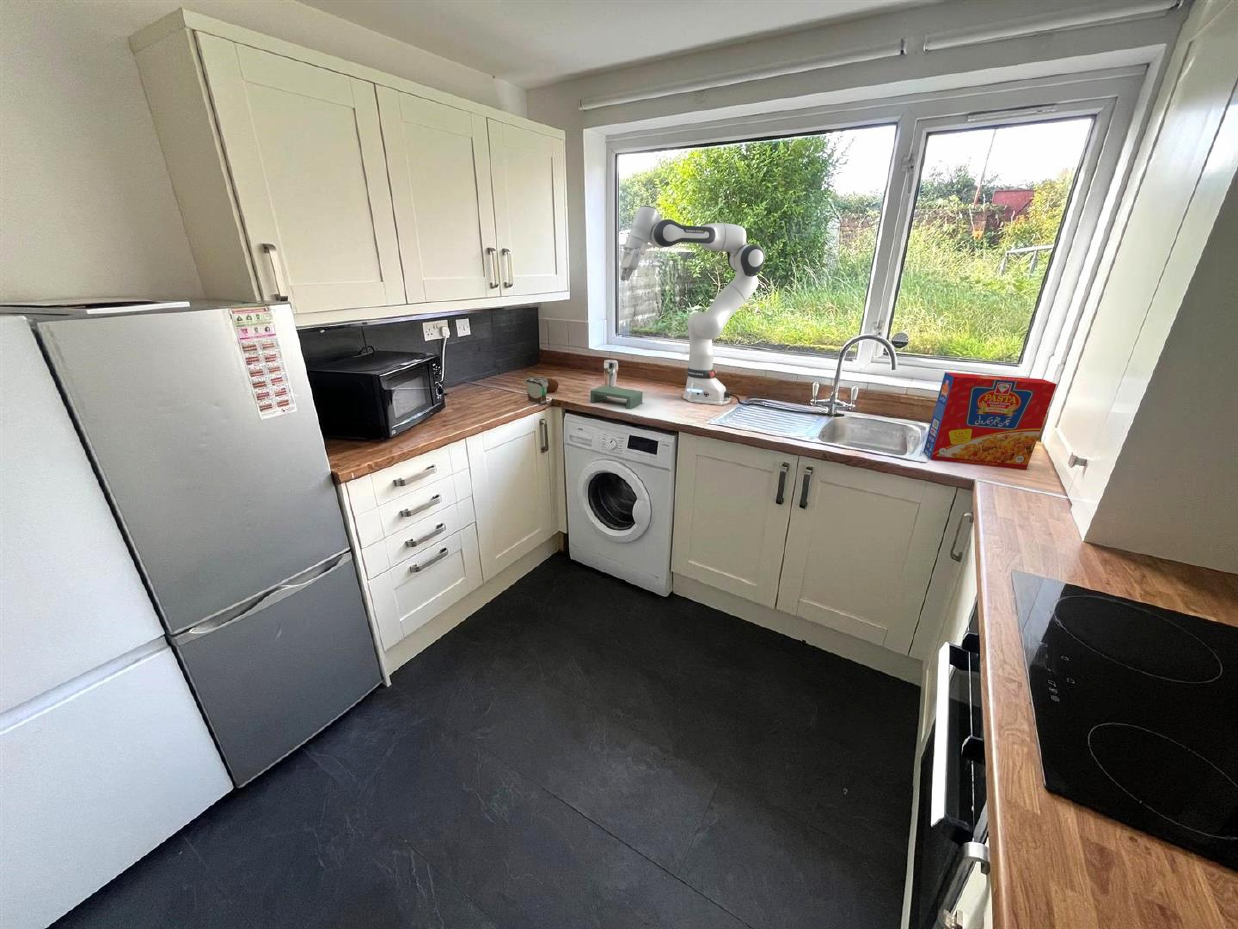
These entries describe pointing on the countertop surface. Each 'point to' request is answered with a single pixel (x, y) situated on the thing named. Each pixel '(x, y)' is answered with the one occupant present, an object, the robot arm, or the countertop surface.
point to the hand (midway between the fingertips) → (624, 280)
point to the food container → (536, 390)
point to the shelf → (617, 395)
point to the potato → (552, 385)
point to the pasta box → (988, 419)
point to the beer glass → (610, 372)
